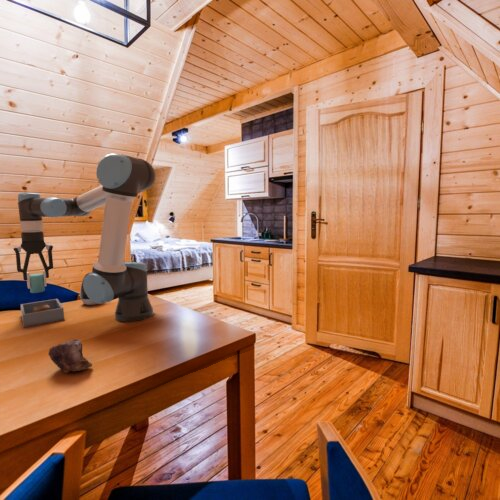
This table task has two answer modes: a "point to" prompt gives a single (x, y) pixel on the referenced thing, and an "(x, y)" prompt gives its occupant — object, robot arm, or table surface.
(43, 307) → the walnut cube
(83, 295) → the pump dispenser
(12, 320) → the table surface
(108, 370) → the table surface
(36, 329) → the table surface
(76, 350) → the rock
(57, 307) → the tote
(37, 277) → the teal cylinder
